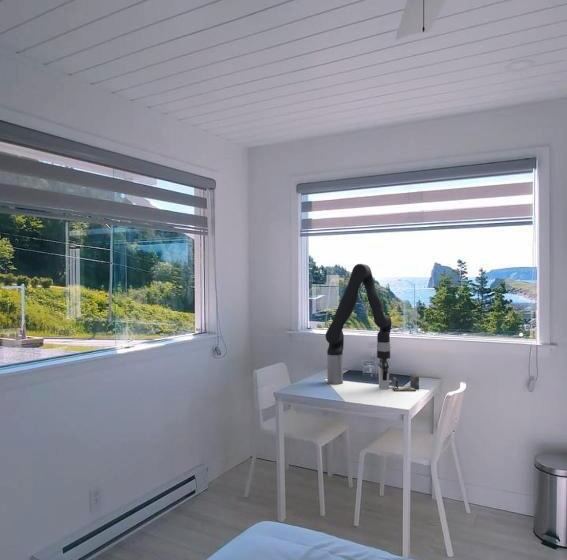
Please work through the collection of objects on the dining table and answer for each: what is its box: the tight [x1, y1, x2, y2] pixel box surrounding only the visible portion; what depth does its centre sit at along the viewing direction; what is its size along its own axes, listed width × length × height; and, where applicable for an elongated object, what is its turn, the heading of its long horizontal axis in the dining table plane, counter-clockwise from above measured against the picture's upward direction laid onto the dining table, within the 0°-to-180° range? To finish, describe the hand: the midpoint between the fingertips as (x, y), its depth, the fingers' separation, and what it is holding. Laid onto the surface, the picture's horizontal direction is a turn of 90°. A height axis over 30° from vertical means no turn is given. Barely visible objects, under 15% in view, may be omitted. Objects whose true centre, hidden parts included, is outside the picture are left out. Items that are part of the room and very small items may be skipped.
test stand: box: [391, 373, 420, 392], centre depth 276 cm, size 15×13×7 cm
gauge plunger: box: [392, 376, 400, 389], centre depth 277 cm, size 1×12×4 cm, turn 178°
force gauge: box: [378, 363, 393, 390], centre depth 279 cm, size 7×5×13 cm
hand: (383, 378), depth 279 cm, fingers open, 5 cm apart
